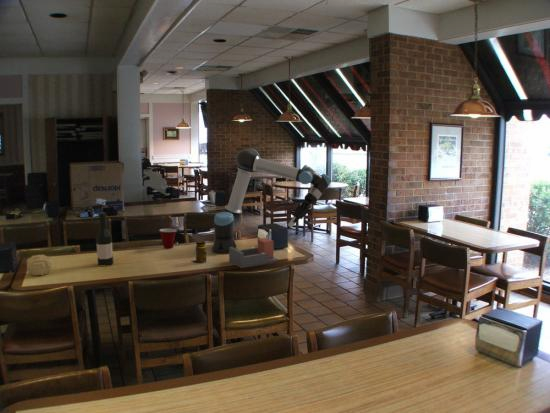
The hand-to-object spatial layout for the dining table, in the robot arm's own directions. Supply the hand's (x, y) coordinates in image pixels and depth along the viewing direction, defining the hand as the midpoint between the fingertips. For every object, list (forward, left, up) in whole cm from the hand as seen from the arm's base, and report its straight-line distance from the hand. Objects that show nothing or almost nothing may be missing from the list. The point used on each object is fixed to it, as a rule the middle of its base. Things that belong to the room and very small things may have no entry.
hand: (289, 226), depth 288 cm
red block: (0, -16, -16) cm, 23 cm away
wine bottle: (-39, -99, -18) cm, 108 cm away
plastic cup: (-54, -57, -18) cm, 81 cm away
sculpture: (-39, -133, -18) cm, 140 cm away
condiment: (-16, -51, -18) cm, 57 cm away
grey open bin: (0, -24, -18) cm, 30 cm away
